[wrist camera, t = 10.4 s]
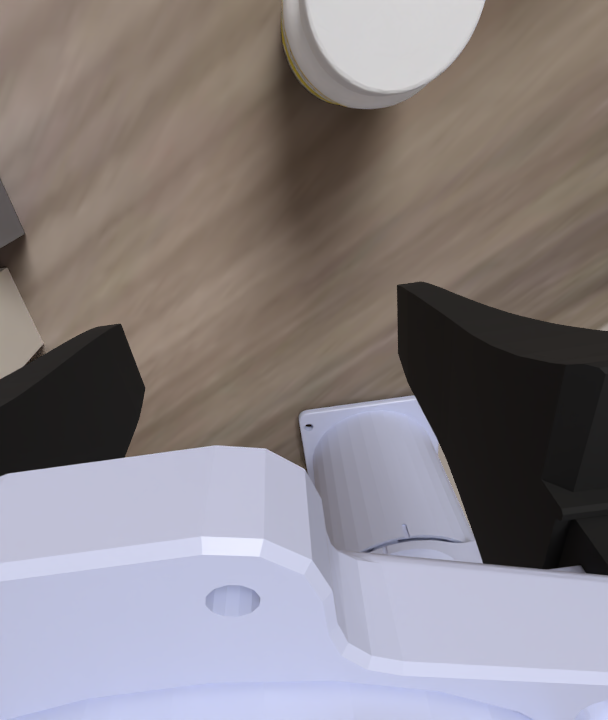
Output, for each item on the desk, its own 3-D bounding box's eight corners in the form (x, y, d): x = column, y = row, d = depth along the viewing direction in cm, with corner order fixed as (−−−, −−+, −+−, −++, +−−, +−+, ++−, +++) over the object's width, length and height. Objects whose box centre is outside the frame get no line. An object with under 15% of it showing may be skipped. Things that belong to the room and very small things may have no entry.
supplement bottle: (422, -43, 16) (550, -155, 8) (393, 111, 18) (474, 126, 11) (284, -66, 15) (296, -206, 8) (274, 96, 17) (276, 101, 10)
